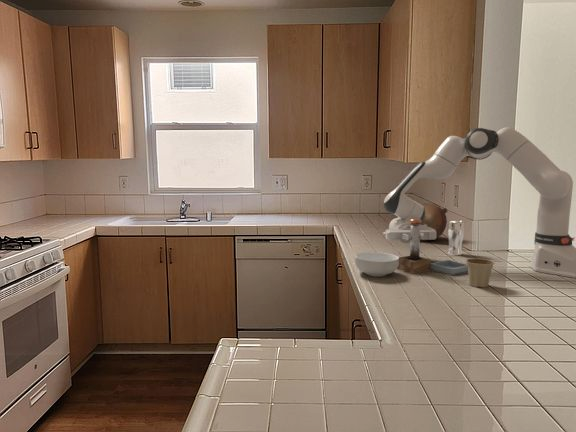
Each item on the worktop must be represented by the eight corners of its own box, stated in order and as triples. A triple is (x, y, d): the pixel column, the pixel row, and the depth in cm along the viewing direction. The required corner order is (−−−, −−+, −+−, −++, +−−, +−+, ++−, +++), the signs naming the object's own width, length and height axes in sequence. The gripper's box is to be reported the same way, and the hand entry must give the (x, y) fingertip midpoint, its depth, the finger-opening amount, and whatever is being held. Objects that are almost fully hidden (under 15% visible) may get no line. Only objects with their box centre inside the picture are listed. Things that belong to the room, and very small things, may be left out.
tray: (471, 271, 185) (471, 265, 184) (452, 275, 179) (452, 269, 179) (448, 265, 194) (448, 259, 194) (429, 269, 188) (429, 263, 188)
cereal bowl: (399, 281, 172) (399, 262, 171) (353, 278, 176) (353, 260, 175) (398, 269, 189) (398, 252, 188) (356, 267, 192) (356, 250, 191)
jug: (445, 244, 238) (433, 243, 268) (453, 206, 239) (441, 209, 268) (405, 235, 241) (398, 235, 271) (413, 198, 241) (405, 201, 271)
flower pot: (469, 280, 173) (470, 256, 172) (496, 284, 167) (498, 260, 166) (460, 285, 166) (461, 261, 164) (488, 290, 160) (489, 265, 159)
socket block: (429, 270, 187) (430, 259, 186) (413, 273, 182) (414, 262, 182) (412, 265, 195) (413, 255, 194) (396, 268, 190) (397, 257, 189)
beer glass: (452, 256, 212) (454, 223, 210) (443, 252, 218) (445, 220, 216) (466, 255, 214) (467, 222, 211) (456, 252, 220) (458, 220, 218)
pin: (423, 262, 187) (424, 219, 185) (414, 264, 185) (415, 220, 182) (414, 260, 191) (415, 218, 189) (406, 262, 189) (406, 219, 186)
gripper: (381, 225, 199) (389, 230, 185) (429, 224, 199) (441, 229, 185) (381, 240, 199) (389, 246, 186) (429, 238, 200) (440, 245, 186)
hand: (415, 238), depth 186 cm, fingers closed on pin, 4 cm apart
